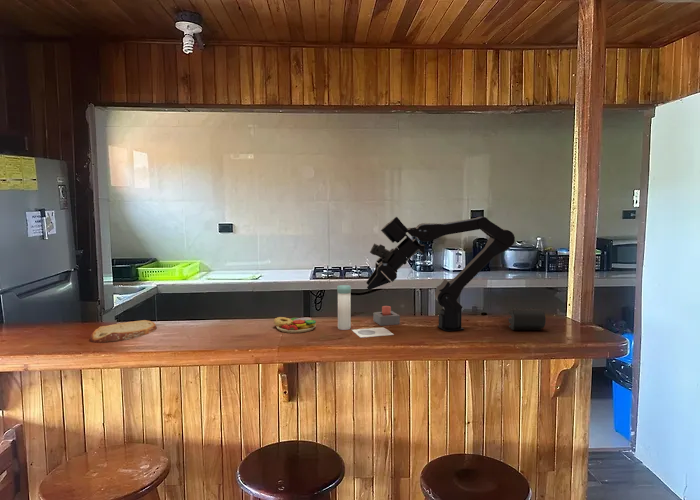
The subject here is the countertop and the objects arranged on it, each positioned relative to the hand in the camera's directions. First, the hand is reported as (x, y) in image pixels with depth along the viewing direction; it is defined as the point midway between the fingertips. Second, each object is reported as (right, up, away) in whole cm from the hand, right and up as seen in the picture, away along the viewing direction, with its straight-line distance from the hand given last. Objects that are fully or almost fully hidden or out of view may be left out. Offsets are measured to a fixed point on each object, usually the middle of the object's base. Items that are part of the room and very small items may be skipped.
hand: (367, 286), depth 161 cm
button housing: (+7, -13, +9) cm, 17 cm away
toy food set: (-23, -14, +2) cm, 28 cm away
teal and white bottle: (-8, -14, +2) cm, 16 cm away
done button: (+7, -12, +9) cm, 16 cm away
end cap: (+52, -14, 0) cm, 53 cm away
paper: (+1, -14, -4) cm, 15 cm away
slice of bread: (-77, -15, -5) cm, 78 cm away
